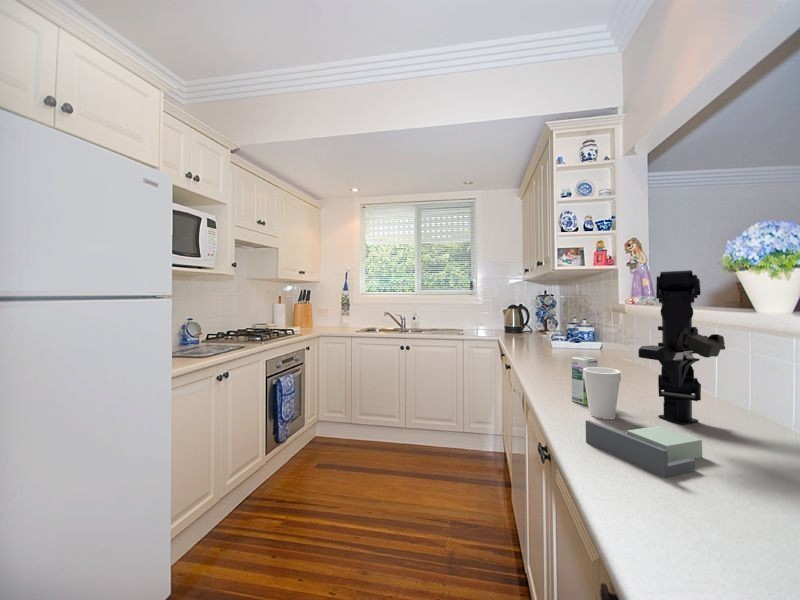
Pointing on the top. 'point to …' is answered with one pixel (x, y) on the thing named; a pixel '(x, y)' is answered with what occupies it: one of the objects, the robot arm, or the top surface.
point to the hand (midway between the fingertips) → (677, 386)
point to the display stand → (636, 451)
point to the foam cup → (602, 391)
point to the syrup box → (580, 377)
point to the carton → (670, 442)
